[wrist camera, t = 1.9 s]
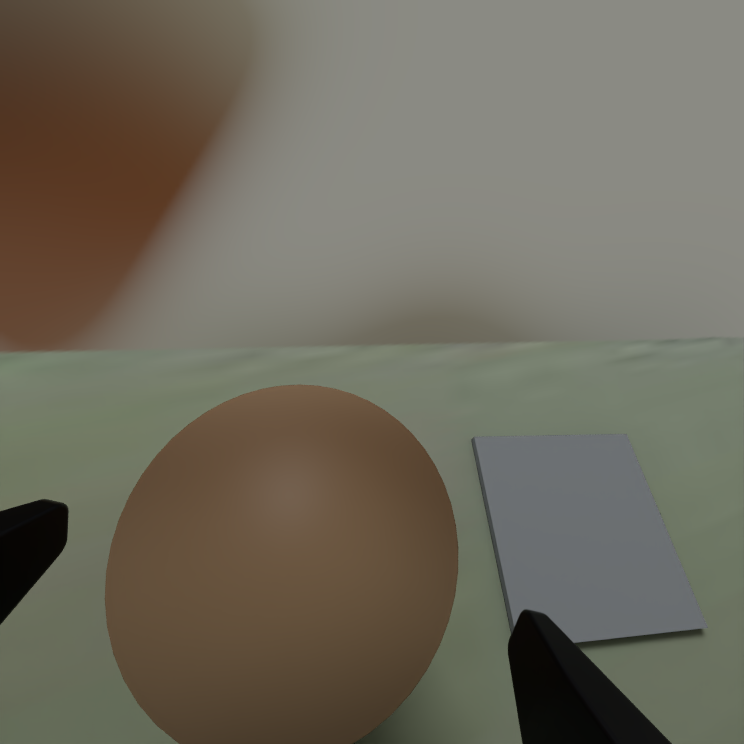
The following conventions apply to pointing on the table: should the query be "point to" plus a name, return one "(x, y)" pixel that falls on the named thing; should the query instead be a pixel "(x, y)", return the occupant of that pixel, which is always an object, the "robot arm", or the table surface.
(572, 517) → the slate mat
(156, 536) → the walnut cylinder
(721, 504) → the table surface
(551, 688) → the robot arm
